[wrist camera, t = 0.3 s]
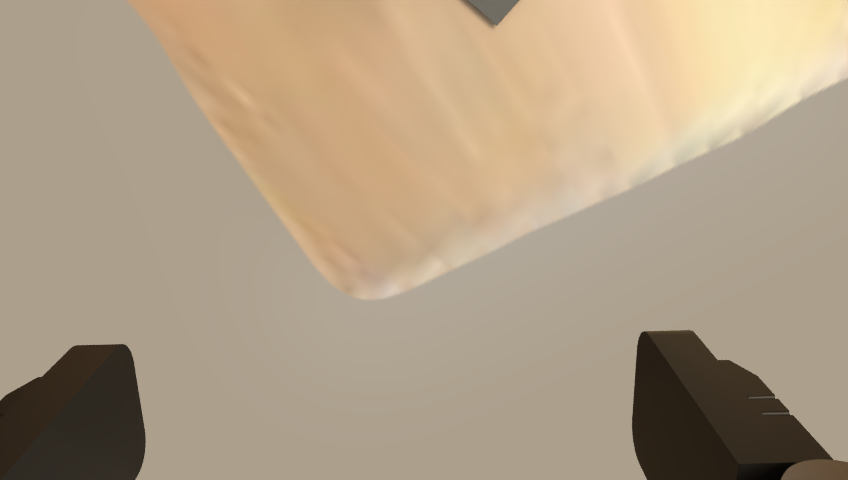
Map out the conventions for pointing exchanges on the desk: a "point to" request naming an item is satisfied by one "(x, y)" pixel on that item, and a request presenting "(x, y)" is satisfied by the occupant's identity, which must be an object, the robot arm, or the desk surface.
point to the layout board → (494, 8)
